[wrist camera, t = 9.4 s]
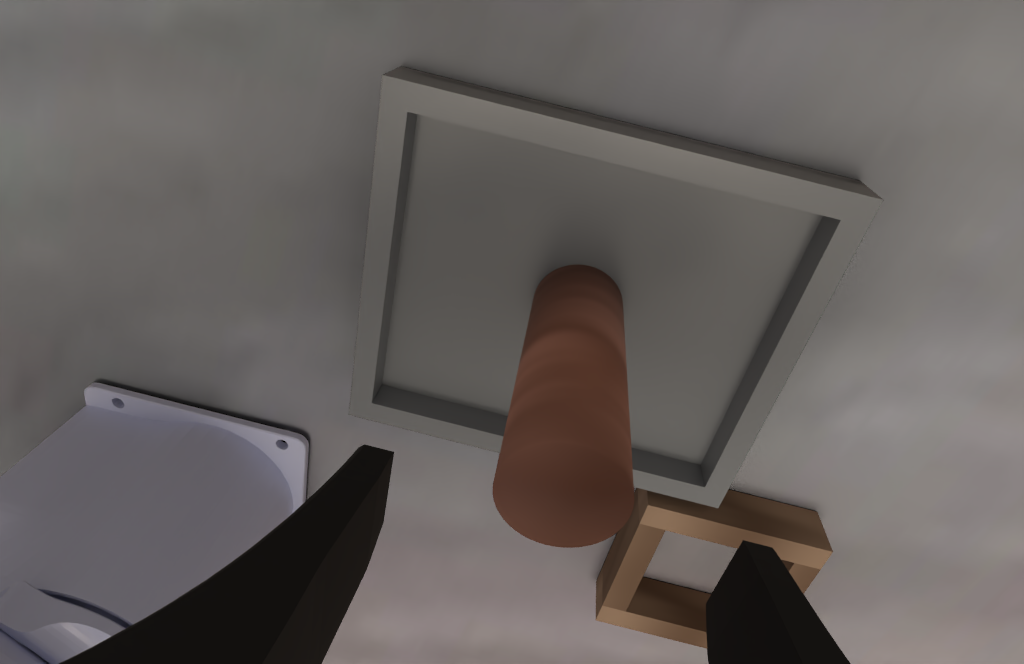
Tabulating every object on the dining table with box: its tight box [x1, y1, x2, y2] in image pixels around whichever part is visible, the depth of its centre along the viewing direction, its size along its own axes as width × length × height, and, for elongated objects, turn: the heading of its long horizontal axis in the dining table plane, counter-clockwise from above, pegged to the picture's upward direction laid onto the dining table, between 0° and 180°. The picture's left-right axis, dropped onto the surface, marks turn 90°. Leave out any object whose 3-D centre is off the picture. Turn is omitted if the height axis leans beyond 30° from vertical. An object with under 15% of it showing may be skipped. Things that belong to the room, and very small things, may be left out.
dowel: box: [493, 264, 634, 547], centre depth 17 cm, size 3×3×9 cm
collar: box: [596, 488, 833, 648], centre depth 26 cm, size 7×7×2 cm
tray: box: [349, 66, 883, 508], centre depth 21 cm, size 14×12×2 cm
